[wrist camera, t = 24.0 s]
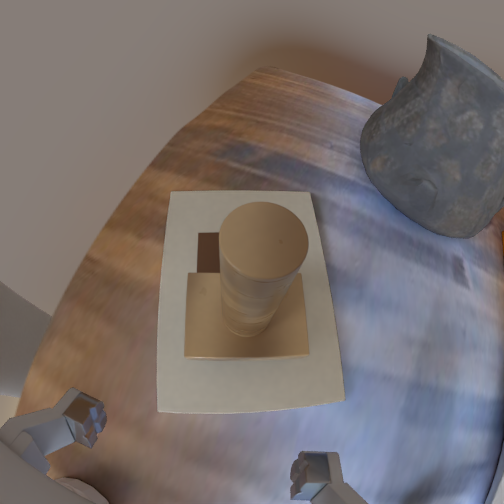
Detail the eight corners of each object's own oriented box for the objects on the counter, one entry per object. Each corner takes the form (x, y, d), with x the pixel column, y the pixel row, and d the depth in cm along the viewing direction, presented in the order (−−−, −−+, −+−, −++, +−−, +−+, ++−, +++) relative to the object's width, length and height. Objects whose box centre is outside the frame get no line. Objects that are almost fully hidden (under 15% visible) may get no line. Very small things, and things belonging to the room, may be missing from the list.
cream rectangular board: (160, 411, 18) (157, 411, 17) (172, 197, 27) (170, 190, 26) (340, 400, 19) (346, 400, 18) (307, 198, 29) (310, 191, 28)
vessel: (481, 295, 25) (596, 200, 7) (329, 214, 28) (408, 30, 11) (471, 184, 35) (530, 100, 18) (362, 121, 38) (401, 14, 21)
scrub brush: (191, 363, 19) (139, 318, 8) (193, 292, 22) (162, 174, 10) (295, 362, 20) (384, 313, 8) (289, 293, 22) (351, 181, 11)
